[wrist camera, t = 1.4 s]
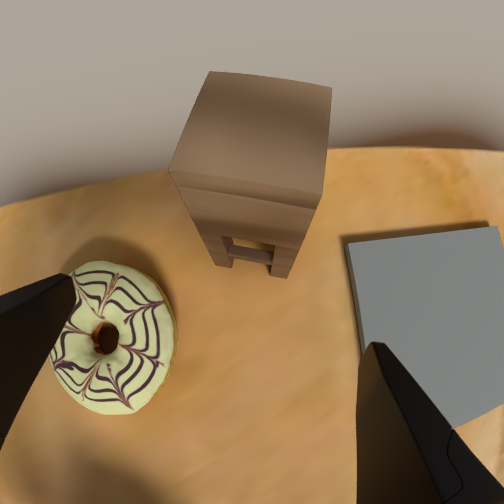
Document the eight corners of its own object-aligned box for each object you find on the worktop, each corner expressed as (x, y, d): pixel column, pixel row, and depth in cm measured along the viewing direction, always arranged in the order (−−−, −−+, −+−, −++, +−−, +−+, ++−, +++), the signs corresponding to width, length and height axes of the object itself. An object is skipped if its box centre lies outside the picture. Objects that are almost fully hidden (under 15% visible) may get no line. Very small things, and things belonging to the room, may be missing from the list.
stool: (286, 278, 22) (322, 194, 10) (215, 264, 23) (168, 169, 10) (297, 212, 24) (332, 87, 11) (231, 200, 24) (209, 71, 12)
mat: (515, 391, 18) (522, 392, 18) (370, 453, 18) (374, 457, 17) (491, 229, 23) (497, 225, 22) (344, 247, 23) (347, 243, 22)
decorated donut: (51, 375, 20) (23, 377, 17) (85, 255, 23) (61, 241, 20) (161, 427, 19) (144, 441, 16) (199, 291, 22) (188, 281, 19)
